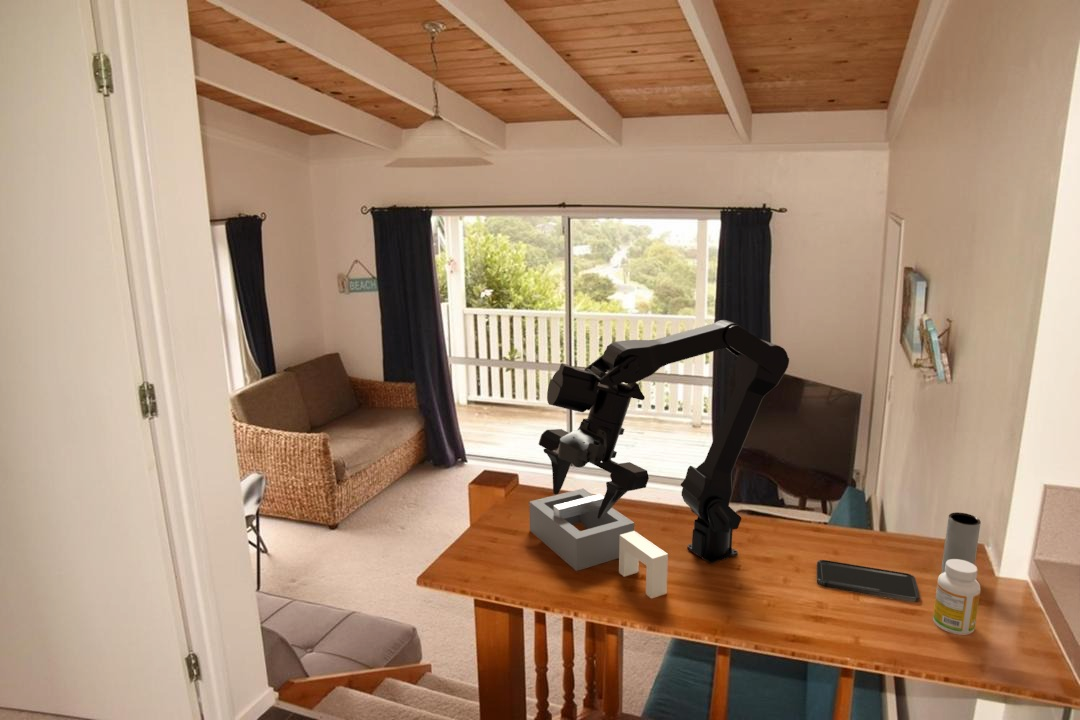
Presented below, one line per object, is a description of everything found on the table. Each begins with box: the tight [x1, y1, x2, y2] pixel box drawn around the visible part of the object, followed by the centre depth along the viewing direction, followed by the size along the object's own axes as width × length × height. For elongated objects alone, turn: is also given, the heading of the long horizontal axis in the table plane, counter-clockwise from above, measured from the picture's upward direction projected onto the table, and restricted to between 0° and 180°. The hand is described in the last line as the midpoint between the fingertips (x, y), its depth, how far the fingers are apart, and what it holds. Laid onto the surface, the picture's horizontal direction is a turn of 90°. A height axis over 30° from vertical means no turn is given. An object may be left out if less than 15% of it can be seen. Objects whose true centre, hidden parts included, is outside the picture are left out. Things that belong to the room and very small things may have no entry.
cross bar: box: [554, 493, 605, 520], centre depth 128 cm, size 10×2×2 cm, turn 119°
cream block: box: [618, 530, 669, 599], centre depth 115 cm, size 3×9×7 cm, turn 29°
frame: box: [528, 488, 635, 572], centre depth 129 cm, size 12×17×6 cm
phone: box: [816, 559, 921, 603], centre depth 115 cm, size 8×1×15 cm
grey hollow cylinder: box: [941, 512, 981, 574], centre depth 116 cm, size 4×4×10 cm
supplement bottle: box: [932, 559, 981, 636], centre depth 103 cm, size 5×5×10 cm
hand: (577, 505), depth 116 cm, fingers open, 9 cm apart
